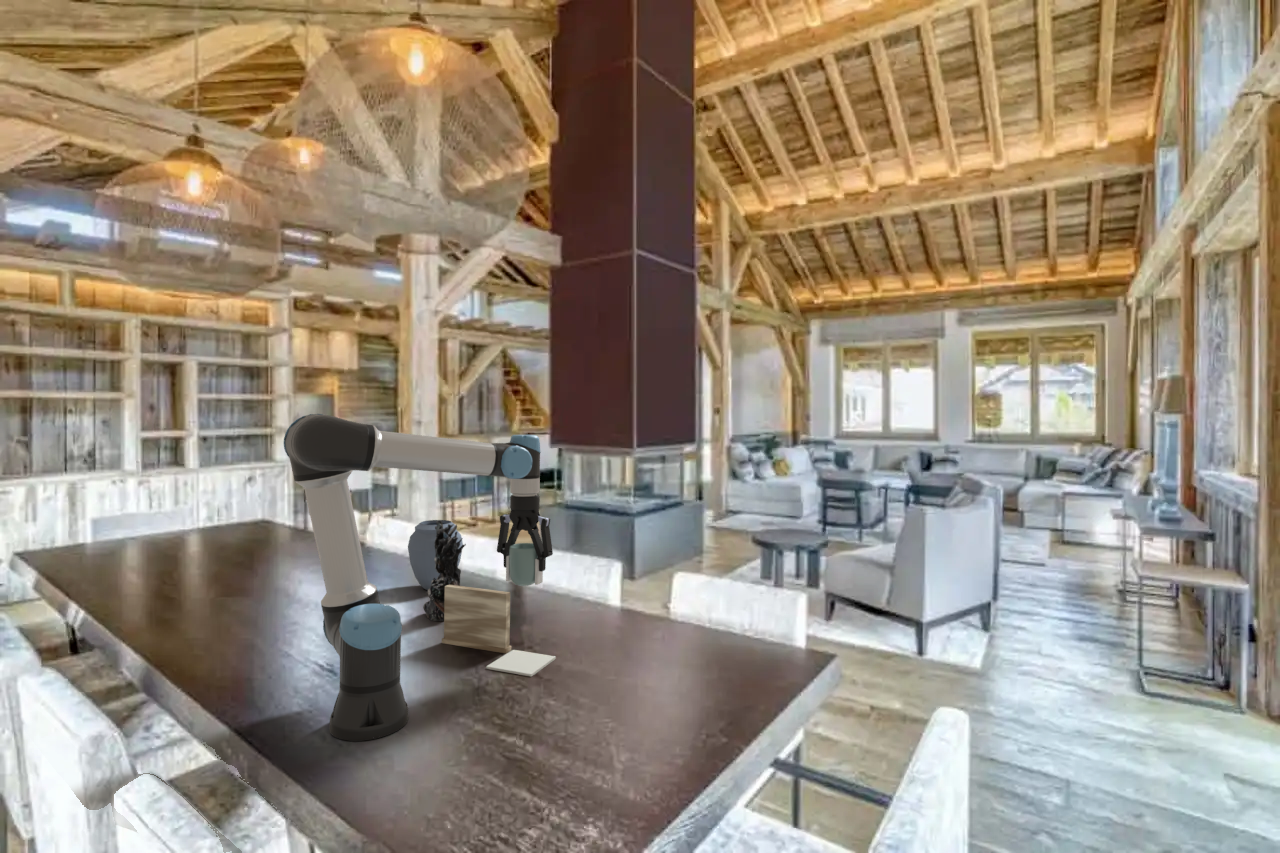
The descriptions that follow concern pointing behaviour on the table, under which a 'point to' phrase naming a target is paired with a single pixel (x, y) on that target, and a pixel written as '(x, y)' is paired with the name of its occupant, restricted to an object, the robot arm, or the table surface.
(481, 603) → the wooden board
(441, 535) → the sculpture
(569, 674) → the table surface
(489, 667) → the pad
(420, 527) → the vase
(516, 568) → the cup
